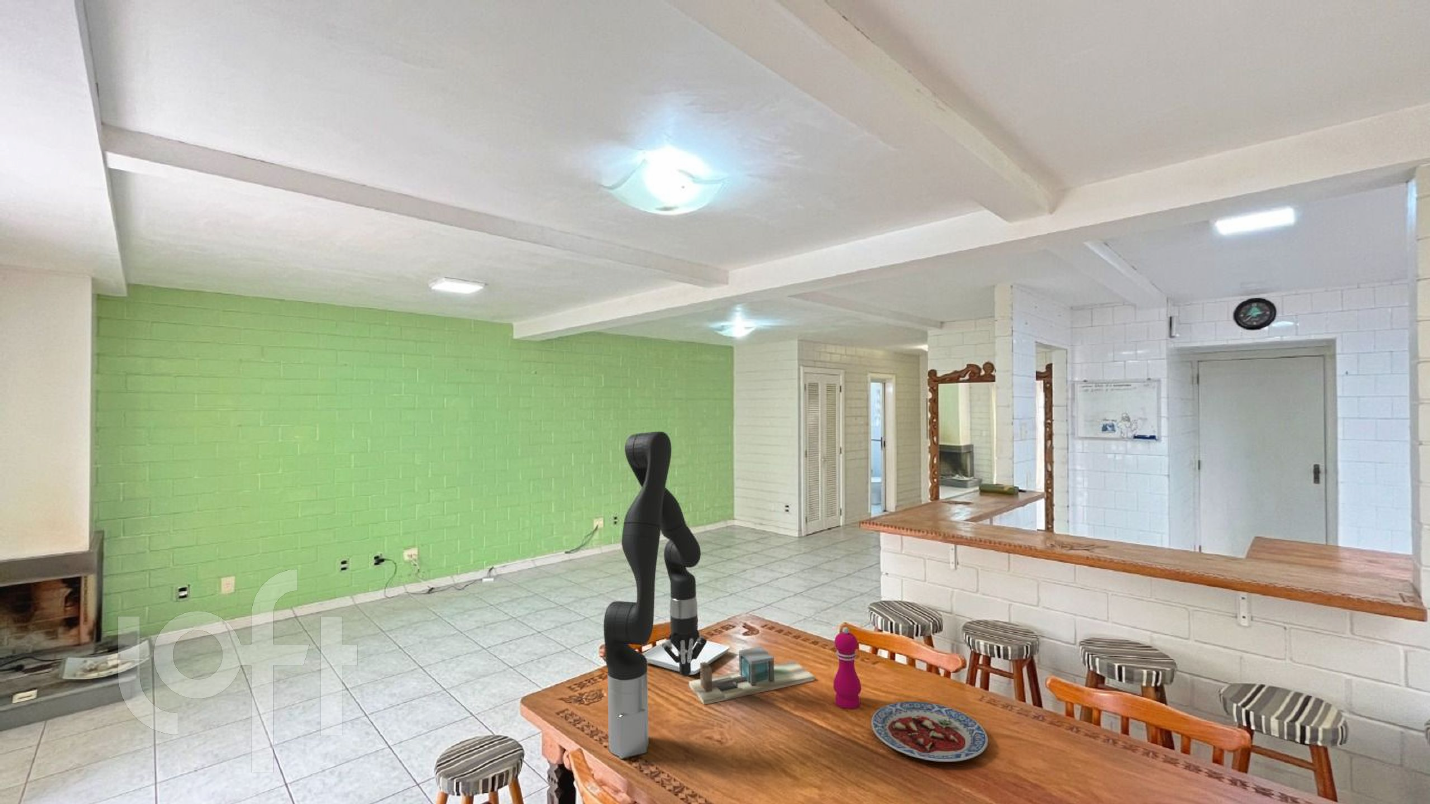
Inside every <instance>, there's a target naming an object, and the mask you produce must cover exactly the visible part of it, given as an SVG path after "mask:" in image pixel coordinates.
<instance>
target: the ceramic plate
mask: <svg viewBox="0 0 1430 804" xmlns="http://www.w3.org/2000/svg"><path fill="white" fill-rule="evenodd" d="M871 728H872V730H873V733H874V734H875V736H877V738H878V739H879V740H880V741H882V742H883V743H885V744H886V745H887V746H889V747H890V748H892V749H894V750H895V751H897V752H899V753H903V754H905V755H907V756H910V757H912V758H913V757H914V758H918V759H921V760H925V761H933V762H948V763H949V762H950V763H951V762H952V763H953V762H961V761H966V760H970V759H973V758H975V757H977V756H979V755H981V754H982V753H983V752H984V751H985V750H986V748H987V746H988V742H989V739H988V735H987V733H986V731H985V729H984V728H983V727H982V725H981V724H980V723H979V722H977V721H976V720H975V719H973V718H972V717H971V716H968V715H967V714H965V713H963V712H962V711H959V710H957V709H954V708H952V707H948V706H944V705H941V704H936V703H931V702H925V701H901V702H900V701H899V702H896V703H891V704H887V705H885V706H882V707H881V708H879V709H878V710H877V711H875V712H874V714H873V715H872V718H871ZM885 744H884V745H885Z"/></svg>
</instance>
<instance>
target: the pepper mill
mask: <svg viewBox="0 0 1430 804" xmlns="http://www.w3.org/2000/svg"><path fill="white" fill-rule="evenodd" d="M841 631H842V632H839V633H838V634H836V636H835V638H834V647H835V649H836V658H838V668H837V671H836V674H835V676H834V679H833V686H832V687H833V691H834V692H835V693H836V694H835V695H834V696H835V698H834V699H835V704H836V706H837V707H840V708H842V709H846V710H853V709H854V710H855V709H857V708H858V707H859V706H860V704H861V700H860V699H861V698H860V696H859V695H860V694H861V692H862V685H861V681H860V678H859V676H858V673H857V671H856V668H855V660H856V659H857V652H856V651H857V648H858V644H859V643H858V639H857V637H856V636H855V634H853V633H852V632H850V628H848V627H846V626H844V627H843V628H842V629H841Z"/></svg>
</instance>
